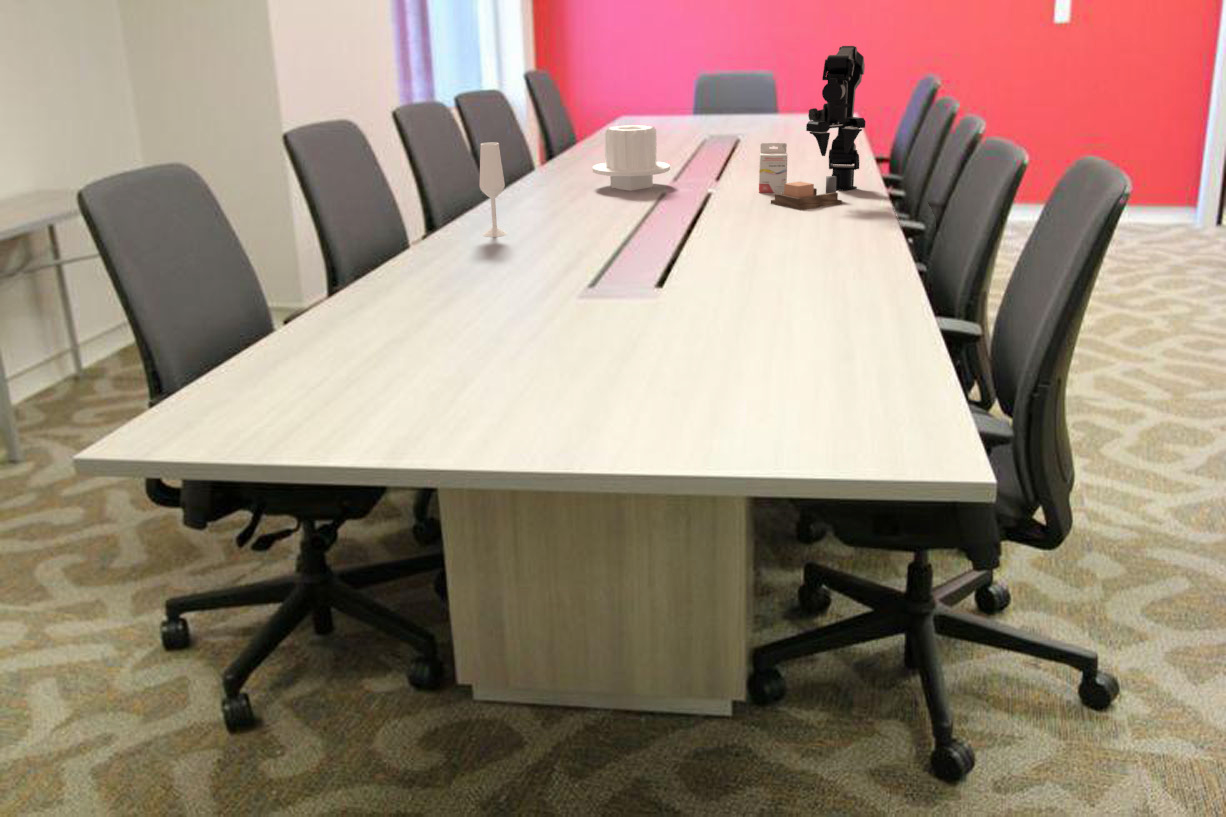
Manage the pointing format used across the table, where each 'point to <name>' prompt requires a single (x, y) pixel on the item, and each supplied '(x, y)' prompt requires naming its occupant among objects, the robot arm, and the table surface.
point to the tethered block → (808, 188)
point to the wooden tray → (807, 200)
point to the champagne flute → (491, 180)
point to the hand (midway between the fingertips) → (834, 154)
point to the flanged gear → (631, 157)
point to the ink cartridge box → (772, 168)
